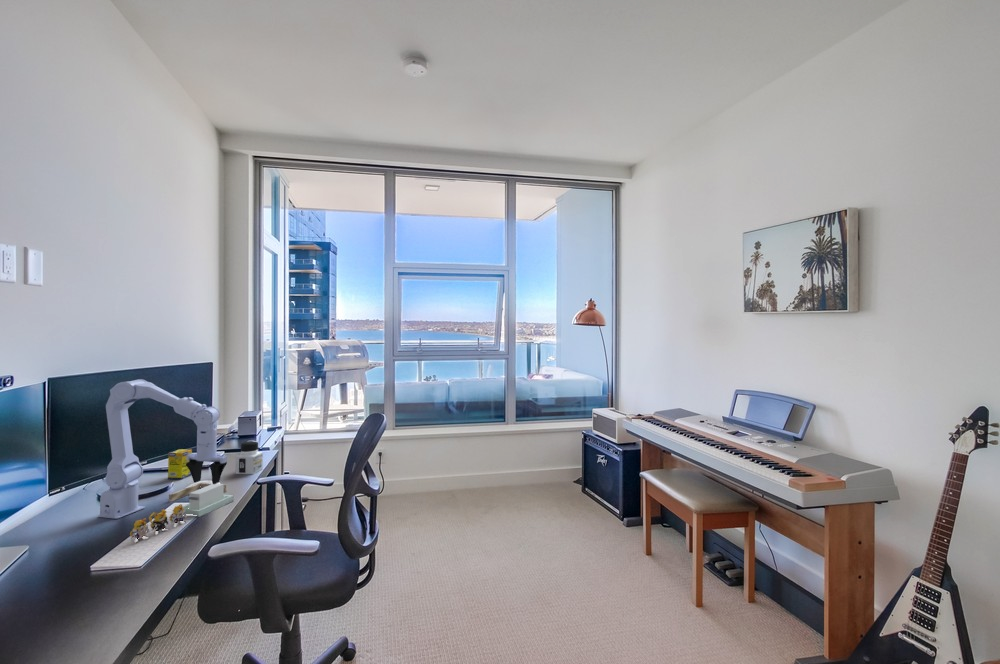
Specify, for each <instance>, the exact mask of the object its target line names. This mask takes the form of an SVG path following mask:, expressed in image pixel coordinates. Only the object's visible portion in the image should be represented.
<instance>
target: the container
mask: <svg viewBox="0 0 1000 664" xmlns="http://www.w3.org/2000/svg"><path fill="white" fill-rule="evenodd" d="M263 458H264V453H263V451H259V442H258V441H256V440H247V441H243V442H241V443H240V454H237V455H236V456H235V475H254V474H256V473H258V472H260V471H261V470H263V468H264V467H263V465H264V463H263Z"/></svg>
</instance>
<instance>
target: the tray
mask: <svg viewBox="0 0 1000 664" xmlns="http://www.w3.org/2000/svg"><path fill="white" fill-rule="evenodd" d="M234 496H235V495H232V494H224V493H223V499H222V500H220V501H218V502H215V503H213V504H211V505H209V506H207V507H204V508H202V509H200V510H194V509H188V508H189V503H188V504H185V505H182V507H183V509H184V510H185V514H193V515H197V516H198V517H197V518H200V517H203V516H204V515H207V514H209V513H211V512H213V511H215V510H217V509H219V508H223V506H226V505H228V504H230V503H232V502H234V500H235V499H234Z"/></svg>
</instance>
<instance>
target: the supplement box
mask: <svg viewBox="0 0 1000 664" xmlns="http://www.w3.org/2000/svg"><path fill="white" fill-rule="evenodd" d="M189 454H193V449H183V448H181V449H177V450H176V449H175V450H174V451H170V452H168V461H167V462H168V464H167V465H168V467H167V469H168V470H167V473H168V474H167V480H184V479H187V478H188V477H190V476H191V477H192V475H191V472H190V470H189V469H188V467H187V466H186V463H188V462H189V461H187V455H189Z"/></svg>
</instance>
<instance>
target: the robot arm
mask: <svg viewBox="0 0 1000 664" xmlns="http://www.w3.org/2000/svg"><path fill="white" fill-rule="evenodd" d="M109 393H110V395H109V397H108V399H107V402H106V403H105V411H106V419H107V420H106V421H107V428H108V435H109V443H110V450H111V460H110V461H109V463H108V465H107V467H106V468H107V473H106V474H105V478H104V479H105V483H106V485H107V487H109V489H108V490H105V491H103V492H102V493H101V495H100V497H99V499H100V501H99V514H98V515H97V518H98V517H99V518H107V519H120V518H122V517H125V516H128V515H131V514H133V513H135V512H139V511H141V510H144V509H145V508H146V506H145V505H143V506H142V505H139V481H140V480H139V478H141V477H142V475H143V473H144V468H143V466H142V464H141V463H140V460H139V459H140V458H139V457H138V456H137V455H135V454H134V449H133V440H132V434H131V425H130V418H129V410H128V409H129V408H130V407H131V406H133V404H134V403H135V402H136V401H138V400H140V399H152V400H154V401H157V402H159V403H162V404H163V405H164V404H165V405H167V406H170V407H173V411H174V412H175V413H176V414H179V415H180V416H183V417H185V418H187V419H190V420H192V421H193V422H194V424H195V425H196V429H197V430H196V453H192V454H189V455H187V461H189V462H188V463H186V466H187V467H188V469H189V470H190V472H191V478H192V481H193V483H195V484H196V483H199V482H201V480H202V470H203V465H204V462H207V463H210V464H209V465H208V467H209V469H210V473H211V482H212V483H211V484H220V480H221V476H222V474H223V471H224V469H225V467H226V465H228V457H227V456H225V455H221V454H219V453H218V451H217V450H218V449H217V442H218V441H217V439H218V438H217V437H218V435H217V434H218V428H217V427H218V426H217V425H218V420H220V417H221V416H220V415H221V413H220V411H219V409H218V408H216V407H215V406H207V404H205V403H203V404H202V403H199V402H197V401H195V400H194V398H193V397H190V396H189V397H187V396H184V397H182V398H180V397H178V396H176V395H175V394H172V393H170V392H169V391H166V390H165V389H162V388H161V387H158V386H157V385H156V384H154V383H153V382H150V381H147V380H145V379H142V378H140V379H135V380H131V381H130V380H129V381H121V382H118V383H116V384H115V385H114V386H112V387H111V388H110V389H109Z"/></svg>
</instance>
